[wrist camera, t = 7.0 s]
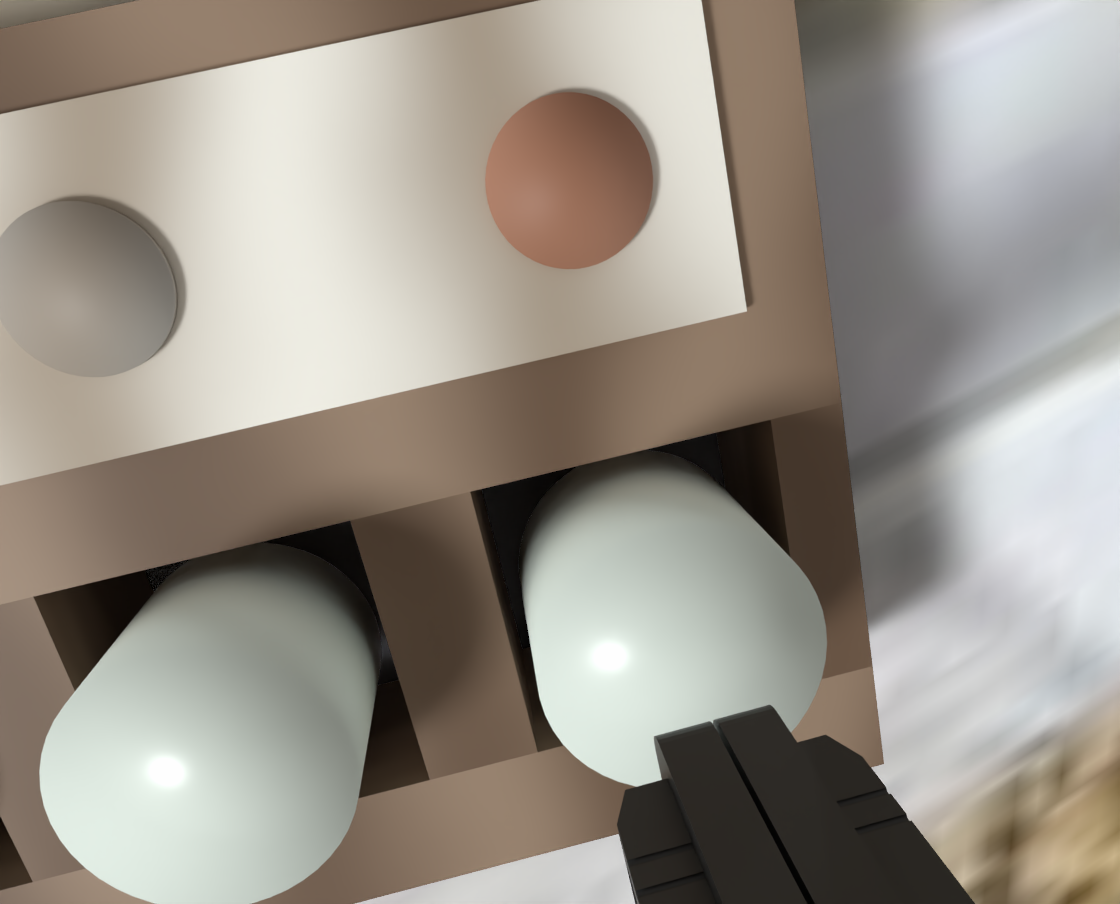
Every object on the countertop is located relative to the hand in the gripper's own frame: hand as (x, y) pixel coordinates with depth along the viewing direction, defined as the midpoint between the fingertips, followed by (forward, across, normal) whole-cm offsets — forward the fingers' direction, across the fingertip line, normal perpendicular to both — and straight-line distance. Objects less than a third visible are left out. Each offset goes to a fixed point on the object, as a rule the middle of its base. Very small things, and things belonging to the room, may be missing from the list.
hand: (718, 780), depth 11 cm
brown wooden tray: (+9, +7, -3) cm, 12 cm away
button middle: (+7, +7, 0) cm, 10 cm away
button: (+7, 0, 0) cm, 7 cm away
